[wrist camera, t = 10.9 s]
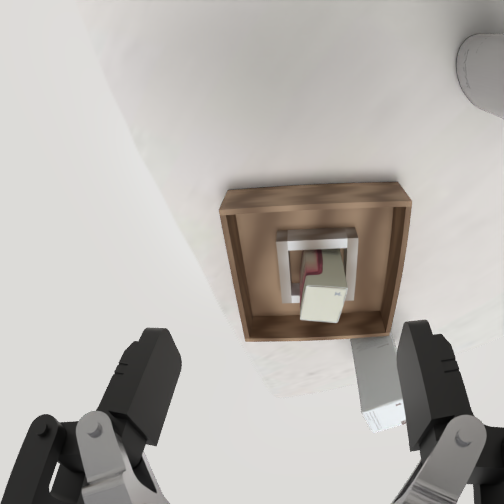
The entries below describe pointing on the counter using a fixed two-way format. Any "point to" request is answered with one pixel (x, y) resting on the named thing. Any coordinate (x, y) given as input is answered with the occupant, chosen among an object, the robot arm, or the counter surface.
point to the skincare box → (378, 382)
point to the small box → (322, 285)
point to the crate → (309, 238)
